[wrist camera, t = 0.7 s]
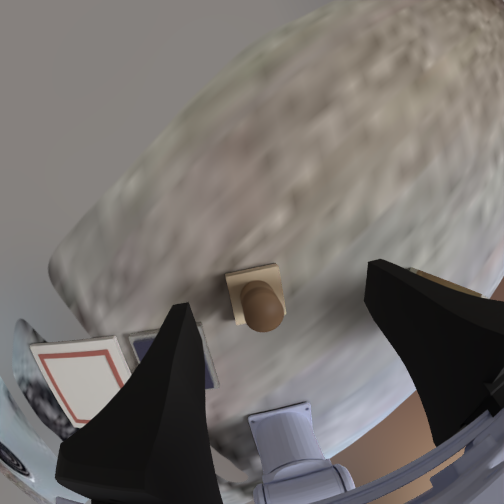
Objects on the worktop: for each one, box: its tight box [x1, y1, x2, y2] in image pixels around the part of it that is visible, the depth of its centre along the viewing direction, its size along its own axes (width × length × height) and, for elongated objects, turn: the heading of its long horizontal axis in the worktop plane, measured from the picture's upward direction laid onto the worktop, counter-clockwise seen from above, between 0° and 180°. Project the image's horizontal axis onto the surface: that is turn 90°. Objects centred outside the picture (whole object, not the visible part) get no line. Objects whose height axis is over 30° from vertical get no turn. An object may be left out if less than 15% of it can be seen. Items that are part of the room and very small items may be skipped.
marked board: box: [30, 336, 132, 428], centre depth 27 cm, size 14×14×1 cm
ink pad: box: [128, 322, 220, 390], centre depth 27 cm, size 8×8×2 cm
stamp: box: [225, 263, 286, 332], centre depth 24 cm, size 5×5×6 cm
